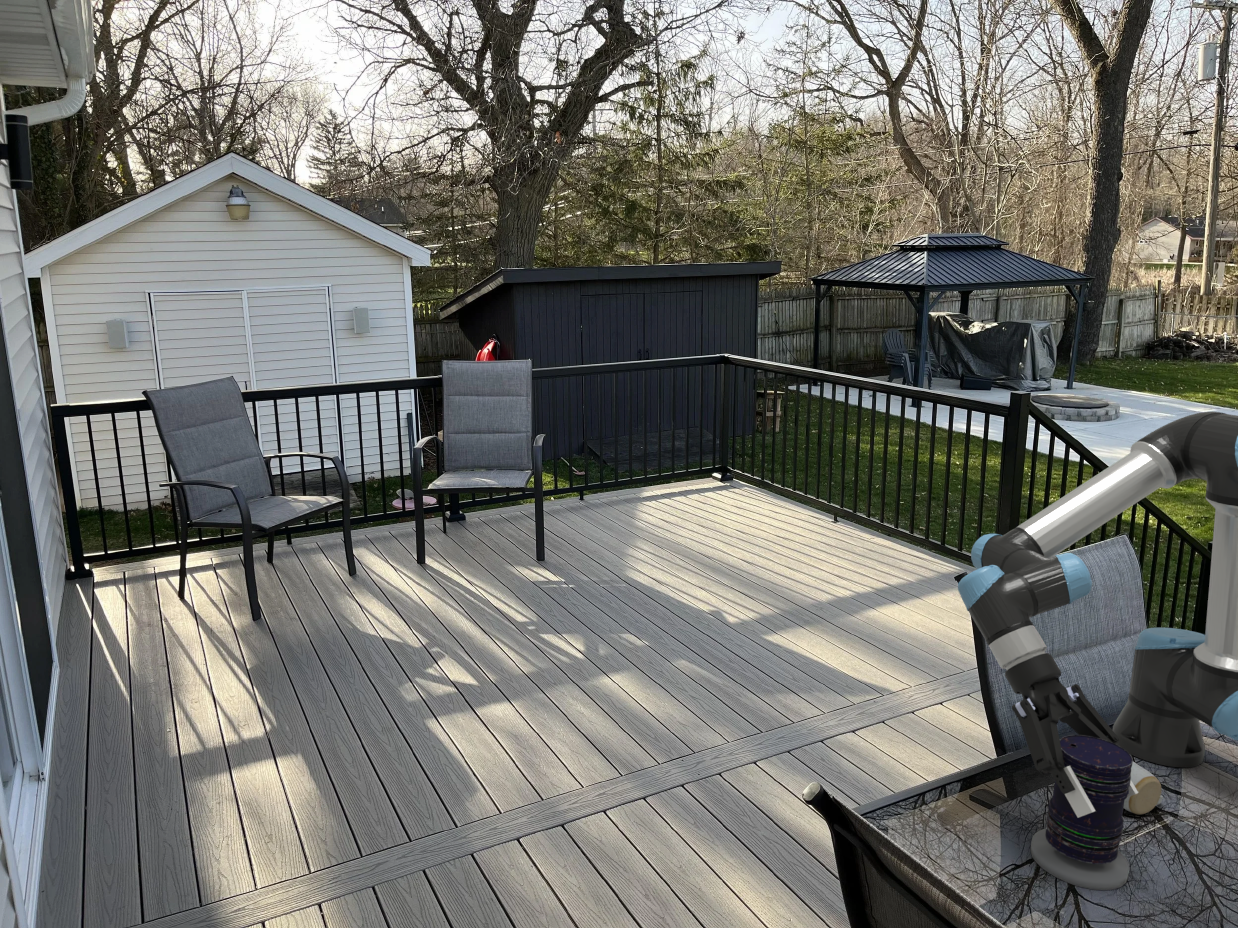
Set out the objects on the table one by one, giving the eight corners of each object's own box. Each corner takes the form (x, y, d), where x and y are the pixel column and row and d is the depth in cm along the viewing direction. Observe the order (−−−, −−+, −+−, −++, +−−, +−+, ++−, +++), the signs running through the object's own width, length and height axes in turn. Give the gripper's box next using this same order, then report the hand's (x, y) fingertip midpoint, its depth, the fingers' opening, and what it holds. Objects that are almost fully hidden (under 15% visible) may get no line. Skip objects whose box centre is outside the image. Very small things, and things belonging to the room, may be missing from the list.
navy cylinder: (1120, 838, 138) (1135, 746, 135) (1117, 872, 129) (1133, 775, 127) (1047, 817, 143) (1060, 728, 140) (1040, 848, 134) (1054, 754, 131)
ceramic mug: (1129, 821, 148) (1137, 777, 147) (1086, 794, 156) (1094, 752, 154) (1175, 811, 152) (1183, 768, 151) (1131, 785, 160) (1138, 744, 158)
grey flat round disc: (1123, 851, 140) (1125, 841, 139) (1131, 900, 128) (1133, 890, 128) (1030, 827, 145) (1032, 818, 145) (1030, 873, 133) (1031, 863, 133)
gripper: (1052, 659, 151) (1132, 794, 140) (961, 683, 139) (1040, 832, 129) (1087, 639, 145) (1173, 778, 135) (995, 663, 134) (1081, 817, 123)
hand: (1108, 804), depth 132 cm, fingers closed on navy cylinder, 10 cm apart
